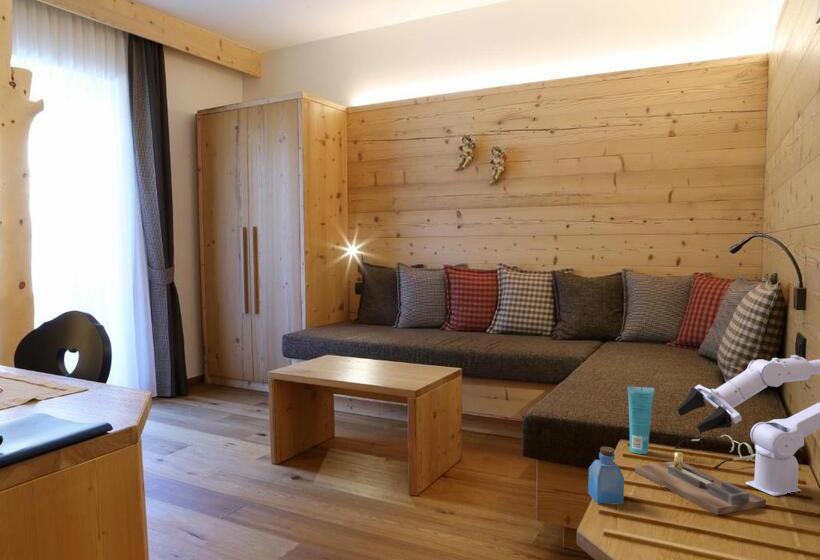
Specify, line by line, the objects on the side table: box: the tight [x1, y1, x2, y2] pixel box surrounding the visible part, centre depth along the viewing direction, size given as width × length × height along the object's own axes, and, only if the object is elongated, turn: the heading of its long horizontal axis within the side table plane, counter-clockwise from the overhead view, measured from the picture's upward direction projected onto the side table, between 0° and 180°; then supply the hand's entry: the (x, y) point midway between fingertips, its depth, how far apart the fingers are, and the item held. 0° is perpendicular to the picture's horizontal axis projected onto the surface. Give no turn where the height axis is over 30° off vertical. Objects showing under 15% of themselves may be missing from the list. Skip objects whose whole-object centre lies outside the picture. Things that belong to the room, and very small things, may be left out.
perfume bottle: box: [587, 446, 625, 505], centre depth 137 cm, size 6×6×12 cm
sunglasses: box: [673, 434, 756, 469], centre depth 167 cm, size 17×15×5 cm
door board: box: [634, 460, 767, 516], centre depth 145 cm, size 15×26×4 cm, turn 20°
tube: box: [627, 385, 656, 455], centre depth 169 cm, size 7×5×19 cm, turn 85°
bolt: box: [669, 451, 713, 489], centre depth 146 cm, size 2×12×5 cm, turn 20°
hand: (688, 420), depth 143 cm, fingers open, 7 cm apart
